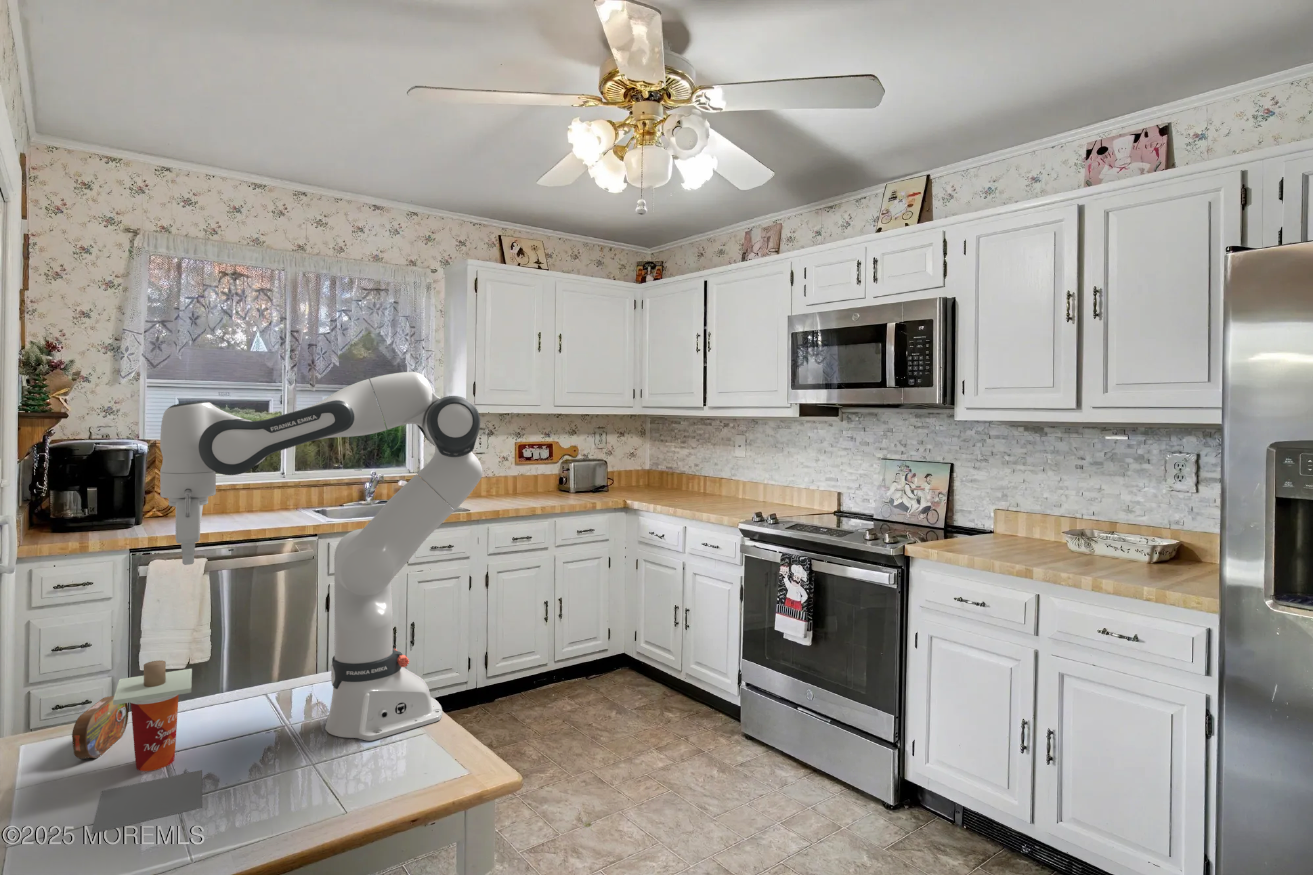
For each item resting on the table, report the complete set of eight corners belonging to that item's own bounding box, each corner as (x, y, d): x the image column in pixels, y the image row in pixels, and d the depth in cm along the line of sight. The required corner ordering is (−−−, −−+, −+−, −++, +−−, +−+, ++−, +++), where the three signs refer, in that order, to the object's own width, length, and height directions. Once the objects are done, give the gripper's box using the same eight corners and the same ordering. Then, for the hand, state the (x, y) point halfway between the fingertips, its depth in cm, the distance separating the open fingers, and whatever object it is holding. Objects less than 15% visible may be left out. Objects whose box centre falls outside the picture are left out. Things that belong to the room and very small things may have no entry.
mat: (202, 771, 127) (202, 769, 127) (202, 810, 115) (202, 807, 115) (102, 793, 119) (102, 790, 119) (91, 836, 107) (91, 833, 107)
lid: (191, 672, 136) (191, 649, 136) (191, 692, 127) (191, 667, 126) (119, 683, 130) (119, 659, 130) (113, 705, 121) (112, 679, 121)
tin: (88, 766, 128) (88, 719, 128) (68, 768, 127) (67, 721, 127) (130, 729, 143) (130, 687, 142) (112, 731, 142) (112, 688, 142)
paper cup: (154, 778, 124) (154, 698, 124) (117, 773, 126) (116, 694, 125) (192, 757, 132) (191, 681, 131) (156, 752, 133) (156, 677, 133)
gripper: (208, 491, 129) (208, 568, 130) (207, 481, 147) (207, 548, 147) (166, 493, 126) (166, 571, 127) (170, 482, 143) (170, 551, 144)
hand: (188, 559), depth 137 cm, fingers open, 8 cm apart
